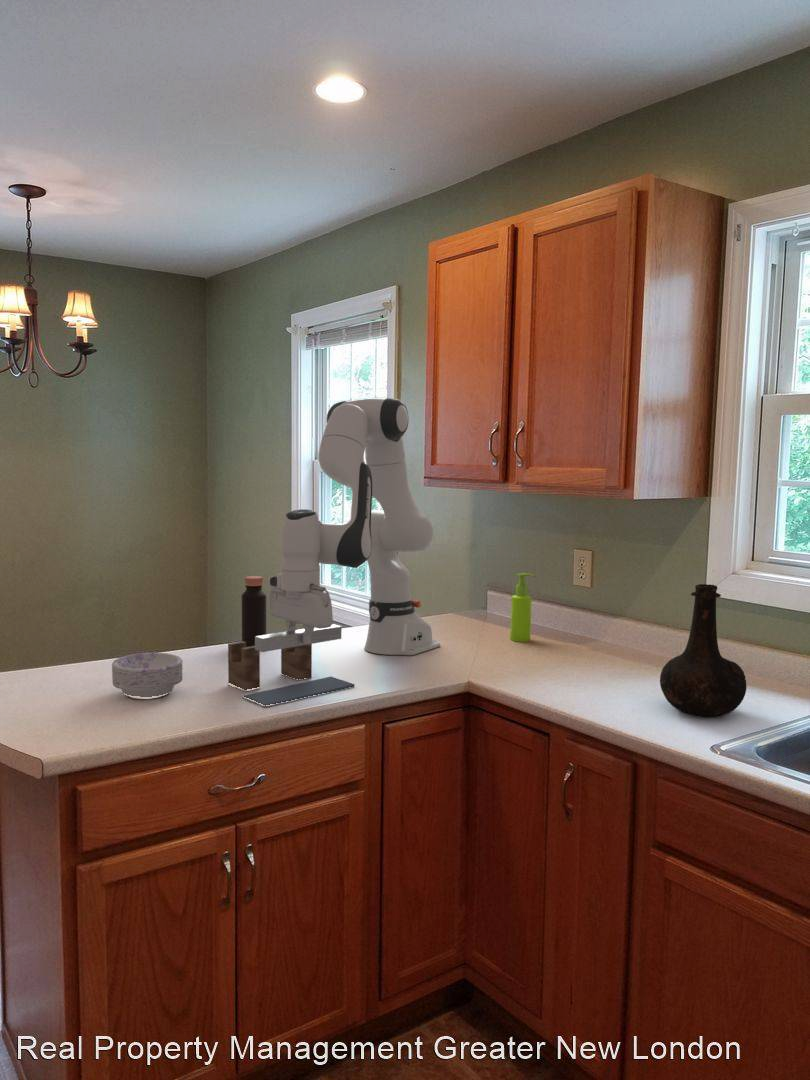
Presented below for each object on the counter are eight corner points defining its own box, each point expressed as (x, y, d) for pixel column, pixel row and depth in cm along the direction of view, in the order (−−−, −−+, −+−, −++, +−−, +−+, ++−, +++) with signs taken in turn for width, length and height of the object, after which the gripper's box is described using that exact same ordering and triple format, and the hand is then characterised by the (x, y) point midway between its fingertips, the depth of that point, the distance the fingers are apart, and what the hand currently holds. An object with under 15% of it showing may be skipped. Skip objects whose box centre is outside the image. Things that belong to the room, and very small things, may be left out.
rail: (333, 636, 199) (333, 624, 199) (341, 638, 197) (341, 626, 196) (254, 649, 184) (255, 636, 184) (262, 652, 182) (262, 638, 181)
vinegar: (261, 651, 230) (260, 579, 228) (238, 649, 232) (237, 578, 230) (269, 645, 237) (269, 576, 235) (247, 644, 238) (247, 574, 236)
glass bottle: (727, 731, 169) (735, 595, 166) (644, 712, 181) (650, 585, 178) (756, 711, 183) (764, 585, 180) (677, 695, 194) (683, 576, 192)
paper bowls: (155, 707, 179) (155, 671, 178) (97, 699, 184) (97, 664, 183) (196, 689, 193) (195, 655, 192) (141, 682, 198) (140, 649, 197)
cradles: (294, 671, 209) (294, 632, 208) (311, 677, 204) (311, 637, 203) (228, 685, 197) (228, 643, 195) (245, 691, 191) (244, 649, 190)
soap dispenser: (534, 642, 247) (537, 575, 245) (511, 641, 247) (513, 574, 245) (532, 637, 253) (534, 572, 250) (509, 637, 253) (511, 572, 251)
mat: (331, 678, 203) (331, 676, 203) (354, 686, 197) (354, 684, 197) (242, 698, 186) (242, 695, 186) (265, 707, 180) (265, 704, 180)
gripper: (339, 586, 184) (339, 647, 185) (286, 575, 198) (285, 632, 200) (316, 588, 179) (316, 651, 181) (263, 577, 194) (263, 635, 195)
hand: (299, 641), depth 190 cm, fingers closed on rail, 3 cm apart
